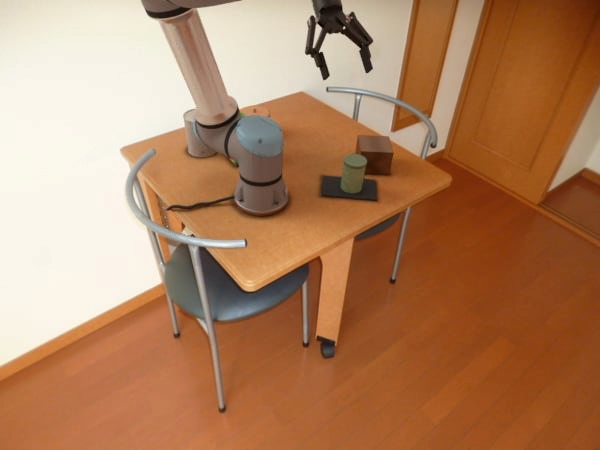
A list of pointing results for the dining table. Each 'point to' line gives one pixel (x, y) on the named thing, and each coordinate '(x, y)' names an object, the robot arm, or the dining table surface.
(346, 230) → the dining table surface
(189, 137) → the grey cylinder
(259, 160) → the robot arm
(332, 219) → the dining table surface
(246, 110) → the trinket box
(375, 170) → the walnut block
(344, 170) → the green tin
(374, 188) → the rubber mat
